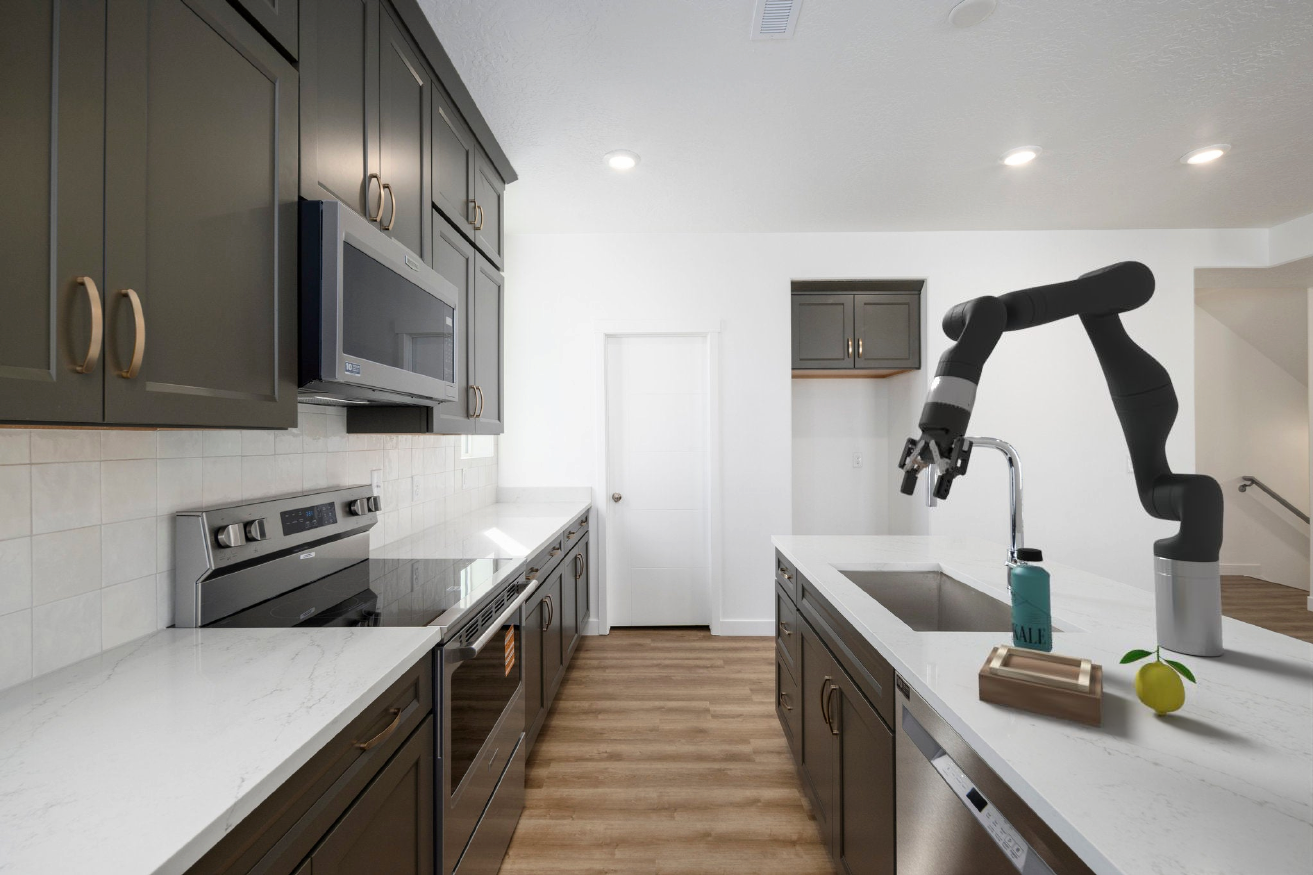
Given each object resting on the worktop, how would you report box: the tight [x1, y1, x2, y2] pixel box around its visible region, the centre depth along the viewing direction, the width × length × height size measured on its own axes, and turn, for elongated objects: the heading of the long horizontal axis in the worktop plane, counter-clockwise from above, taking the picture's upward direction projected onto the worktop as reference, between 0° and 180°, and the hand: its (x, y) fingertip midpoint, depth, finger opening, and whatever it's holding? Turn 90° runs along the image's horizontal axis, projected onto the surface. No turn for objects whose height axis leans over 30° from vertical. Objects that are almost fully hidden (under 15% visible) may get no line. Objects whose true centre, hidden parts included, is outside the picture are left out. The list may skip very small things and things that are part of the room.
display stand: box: [977, 644, 1104, 728], centre depth 90 cm, size 15×15×5 cm
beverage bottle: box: [1010, 547, 1054, 653], centre depth 107 cm, size 6×7×20 cm
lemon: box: [1119, 644, 1197, 716], centre depth 83 cm, size 7×6×10 cm
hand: (921, 496), depth 98 cm, fingers open, 8 cm apart
